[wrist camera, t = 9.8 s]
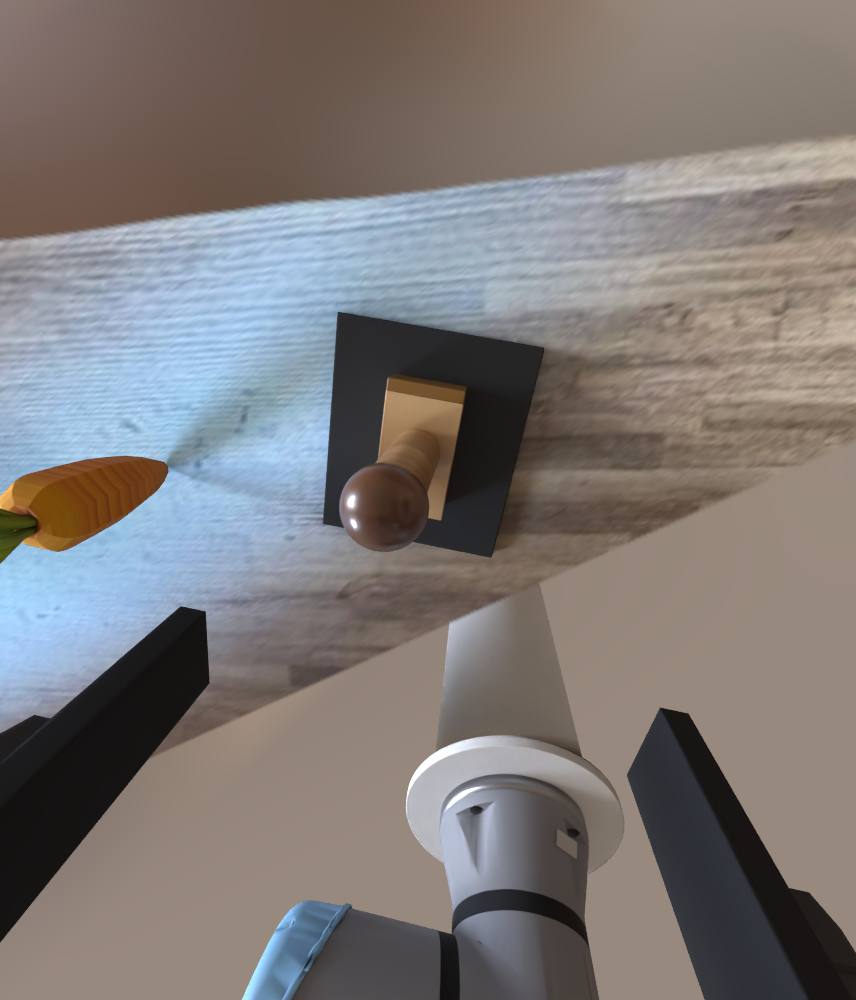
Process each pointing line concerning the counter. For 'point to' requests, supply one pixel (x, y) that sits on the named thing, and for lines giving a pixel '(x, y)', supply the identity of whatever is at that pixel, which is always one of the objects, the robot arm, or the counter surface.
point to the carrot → (75, 501)
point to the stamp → (405, 465)
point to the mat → (483, 429)
